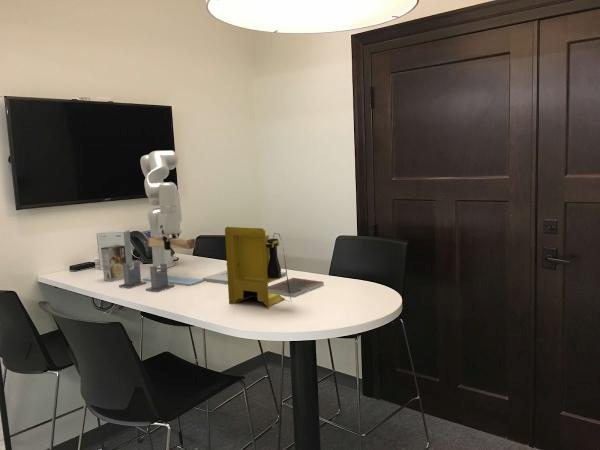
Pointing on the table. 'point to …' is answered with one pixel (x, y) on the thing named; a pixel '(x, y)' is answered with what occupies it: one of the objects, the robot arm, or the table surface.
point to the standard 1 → (132, 276)
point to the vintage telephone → (251, 265)
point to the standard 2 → (159, 279)
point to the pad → (180, 280)
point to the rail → (172, 242)
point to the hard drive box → (115, 243)
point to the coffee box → (113, 262)
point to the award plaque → (224, 277)
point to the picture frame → (294, 287)
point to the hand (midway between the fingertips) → (171, 248)
